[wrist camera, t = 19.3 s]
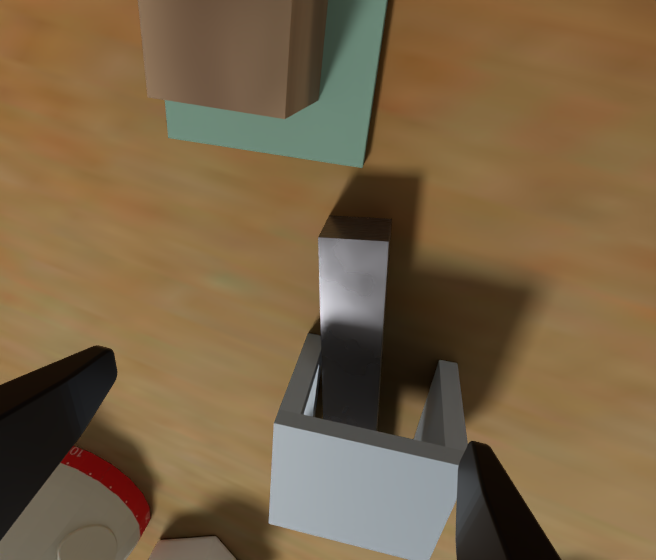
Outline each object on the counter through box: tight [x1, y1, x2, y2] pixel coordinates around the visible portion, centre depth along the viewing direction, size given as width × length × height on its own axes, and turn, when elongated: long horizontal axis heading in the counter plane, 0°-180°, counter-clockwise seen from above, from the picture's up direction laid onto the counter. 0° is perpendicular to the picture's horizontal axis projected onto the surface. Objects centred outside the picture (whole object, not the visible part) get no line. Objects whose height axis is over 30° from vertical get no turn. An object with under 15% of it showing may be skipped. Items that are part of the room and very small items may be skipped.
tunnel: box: [269, 333, 468, 560], centre depth 22 cm, size 8×8×7 cm
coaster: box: [165, 0, 388, 168], centre depth 16 cm, size 9×9×1 cm
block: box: [138, 0, 328, 119], centre depth 14 cm, size 4×4×5 cm
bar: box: [318, 215, 392, 431], centre depth 24 cm, size 3×20×3 cm, turn 1°
